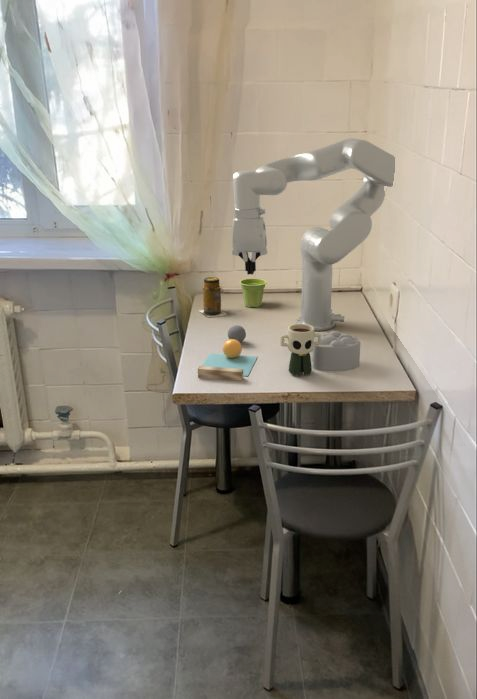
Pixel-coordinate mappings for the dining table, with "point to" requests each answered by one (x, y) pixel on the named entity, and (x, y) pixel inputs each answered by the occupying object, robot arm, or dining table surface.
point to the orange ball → (232, 348)
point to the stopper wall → (220, 373)
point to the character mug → (300, 347)
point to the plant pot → (253, 291)
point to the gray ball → (237, 333)
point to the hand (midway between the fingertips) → (250, 273)
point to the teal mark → (231, 362)
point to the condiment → (212, 298)
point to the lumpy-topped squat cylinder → (336, 352)
